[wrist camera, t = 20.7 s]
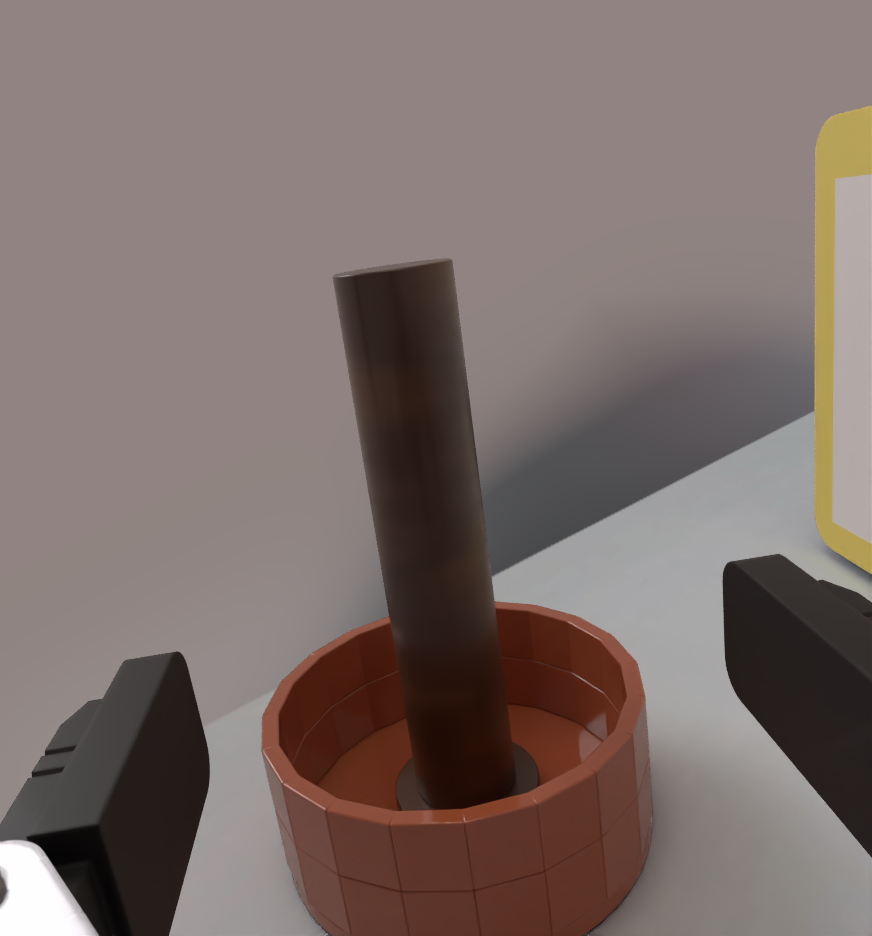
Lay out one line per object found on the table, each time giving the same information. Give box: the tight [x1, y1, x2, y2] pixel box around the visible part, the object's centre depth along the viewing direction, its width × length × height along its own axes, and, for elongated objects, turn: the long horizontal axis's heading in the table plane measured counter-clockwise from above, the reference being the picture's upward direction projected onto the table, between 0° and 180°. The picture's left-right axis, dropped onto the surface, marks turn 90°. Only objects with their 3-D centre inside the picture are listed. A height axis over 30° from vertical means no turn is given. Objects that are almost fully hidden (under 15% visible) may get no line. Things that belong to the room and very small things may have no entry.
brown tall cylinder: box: [333, 259, 540, 811], centre depth 22 cm, size 4×4×16 cm
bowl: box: [261, 602, 653, 936], centre depth 24 cm, size 11×11×4 cm
